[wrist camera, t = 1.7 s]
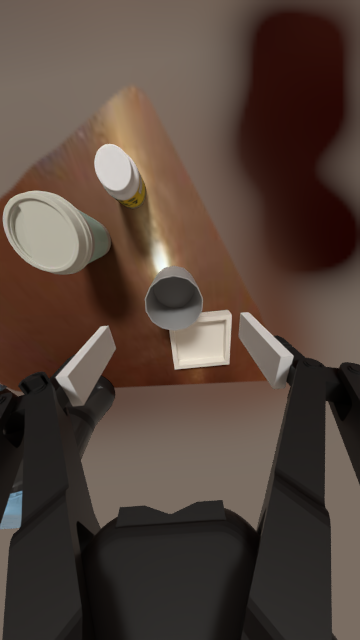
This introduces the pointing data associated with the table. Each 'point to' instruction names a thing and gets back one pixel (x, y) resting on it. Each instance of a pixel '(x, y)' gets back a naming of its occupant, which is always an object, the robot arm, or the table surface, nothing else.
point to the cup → (174, 299)
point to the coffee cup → (53, 232)
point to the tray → (203, 341)
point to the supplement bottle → (120, 176)
